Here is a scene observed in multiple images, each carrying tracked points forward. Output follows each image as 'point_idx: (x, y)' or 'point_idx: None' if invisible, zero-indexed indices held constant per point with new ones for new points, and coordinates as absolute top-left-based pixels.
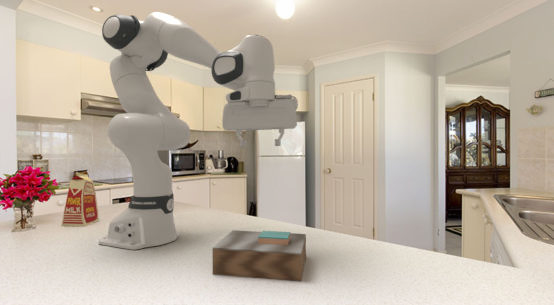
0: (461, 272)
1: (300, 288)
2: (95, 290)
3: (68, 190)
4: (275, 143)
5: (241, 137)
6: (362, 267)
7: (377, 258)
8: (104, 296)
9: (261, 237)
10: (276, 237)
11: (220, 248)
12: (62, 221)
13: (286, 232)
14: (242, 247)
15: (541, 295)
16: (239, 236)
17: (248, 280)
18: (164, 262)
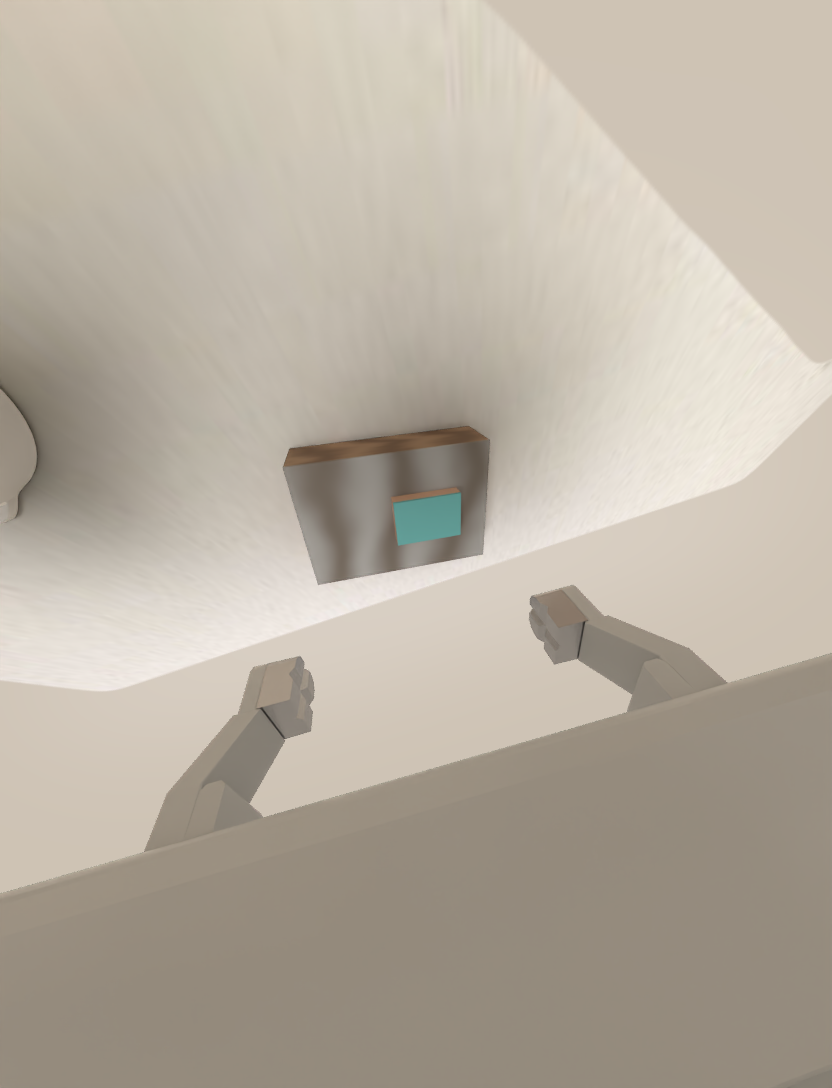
0: (717, 420)
1: None
2: (191, 644)
3: None
4: (541, 636)
5: (248, 756)
6: (570, 448)
7: (615, 389)
8: (223, 646)
9: (404, 543)
10: (437, 537)
11: (334, 581)
12: None
13: (452, 499)
14: (374, 565)
15: (748, 470)
16: (333, 511)
17: None
18: (184, 547)
